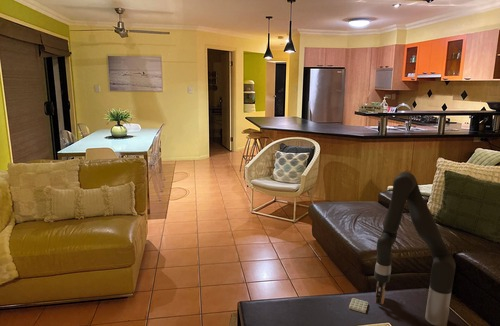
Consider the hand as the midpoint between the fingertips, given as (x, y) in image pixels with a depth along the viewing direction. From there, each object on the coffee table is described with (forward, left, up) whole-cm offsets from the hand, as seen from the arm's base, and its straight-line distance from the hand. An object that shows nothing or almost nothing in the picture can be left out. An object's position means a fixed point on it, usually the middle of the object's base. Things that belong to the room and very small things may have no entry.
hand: (379, 298), depth 186 cm
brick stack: (0, 0, -1) cm, 1 cm away
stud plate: (+9, +10, -1) cm, 13 cm away
